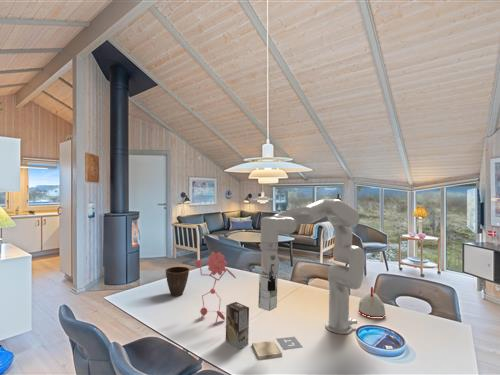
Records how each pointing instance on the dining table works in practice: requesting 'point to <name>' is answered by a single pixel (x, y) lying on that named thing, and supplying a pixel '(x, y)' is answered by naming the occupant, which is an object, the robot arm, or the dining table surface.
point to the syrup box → (267, 293)
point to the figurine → (215, 265)
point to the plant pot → (177, 279)
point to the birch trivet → (266, 349)
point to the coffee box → (237, 324)
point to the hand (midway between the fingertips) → (268, 287)
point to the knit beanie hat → (371, 305)
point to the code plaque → (289, 343)
